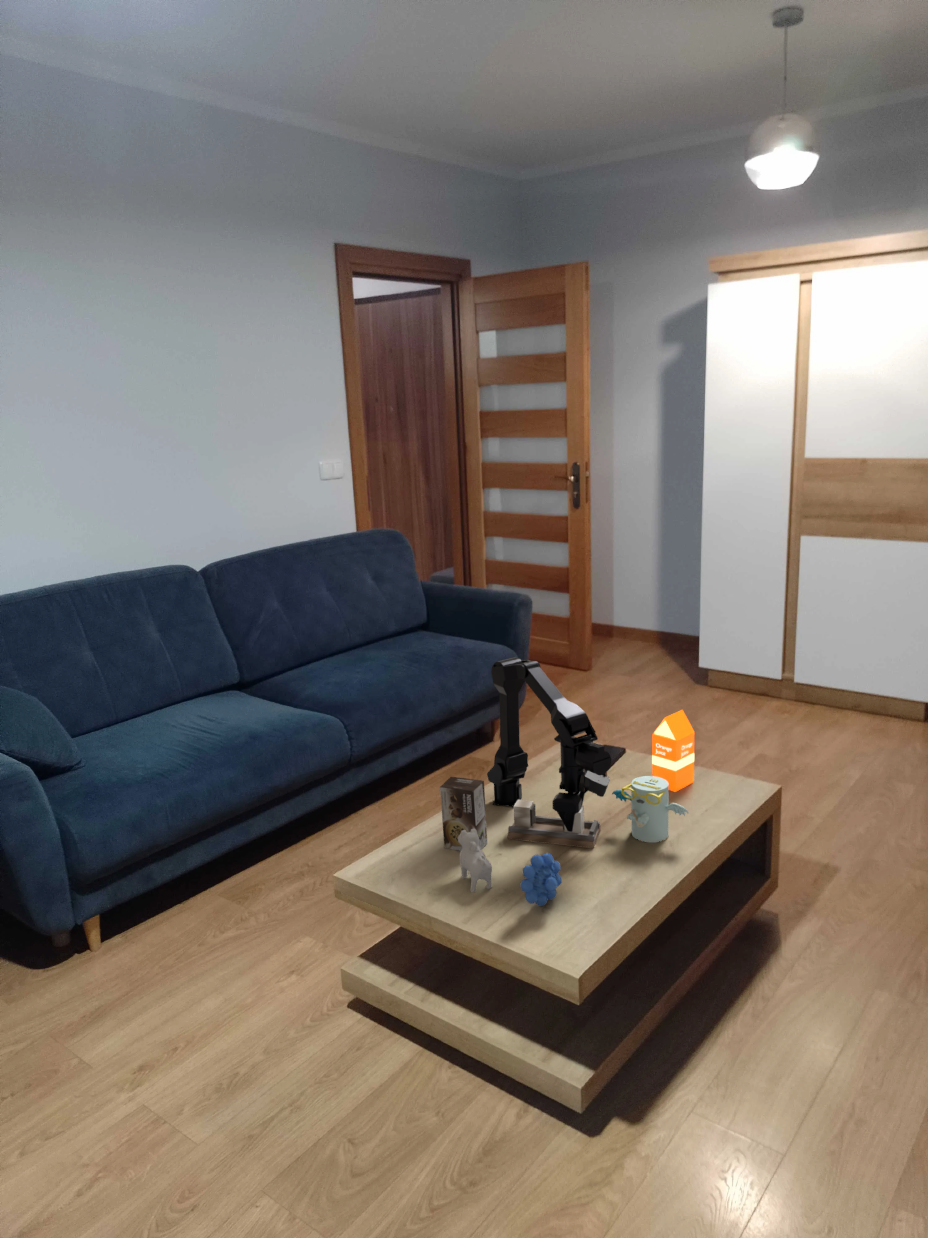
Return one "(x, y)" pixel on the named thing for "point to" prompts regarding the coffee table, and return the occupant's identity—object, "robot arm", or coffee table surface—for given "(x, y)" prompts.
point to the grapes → (541, 879)
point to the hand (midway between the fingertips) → (574, 822)
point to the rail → (548, 828)
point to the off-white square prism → (577, 822)
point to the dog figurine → (474, 859)
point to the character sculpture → (649, 807)
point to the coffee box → (463, 810)
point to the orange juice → (674, 751)
